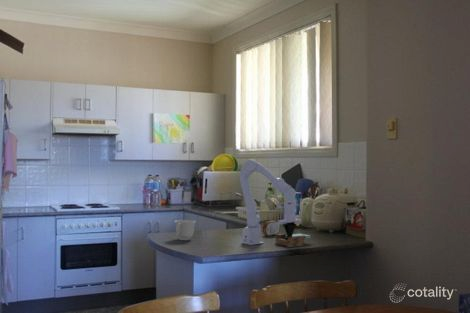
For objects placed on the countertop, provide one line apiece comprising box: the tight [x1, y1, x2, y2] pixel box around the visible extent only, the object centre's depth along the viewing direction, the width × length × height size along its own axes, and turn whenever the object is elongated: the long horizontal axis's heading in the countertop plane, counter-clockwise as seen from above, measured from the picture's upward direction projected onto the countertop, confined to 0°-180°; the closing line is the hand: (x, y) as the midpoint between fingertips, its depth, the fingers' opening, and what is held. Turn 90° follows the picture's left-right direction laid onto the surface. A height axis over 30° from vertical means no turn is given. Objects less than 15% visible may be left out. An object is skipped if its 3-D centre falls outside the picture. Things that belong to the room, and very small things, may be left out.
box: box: [274, 233, 306, 248], centre depth 266 cm, size 12×10×5 cm
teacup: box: [173, 219, 197, 241], centre depth 277 cm, size 12×15×10 cm
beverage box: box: [283, 191, 303, 227], centre depth 346 cm, size 7×11×22 cm, turn 71°
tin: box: [261, 219, 281, 237], centre depth 299 cm, size 15×3×8 cm, turn 141°
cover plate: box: [285, 233, 312, 239], centre depth 270 cm, size 11×8×1 cm
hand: (289, 237), depth 266 cm, fingers closed
